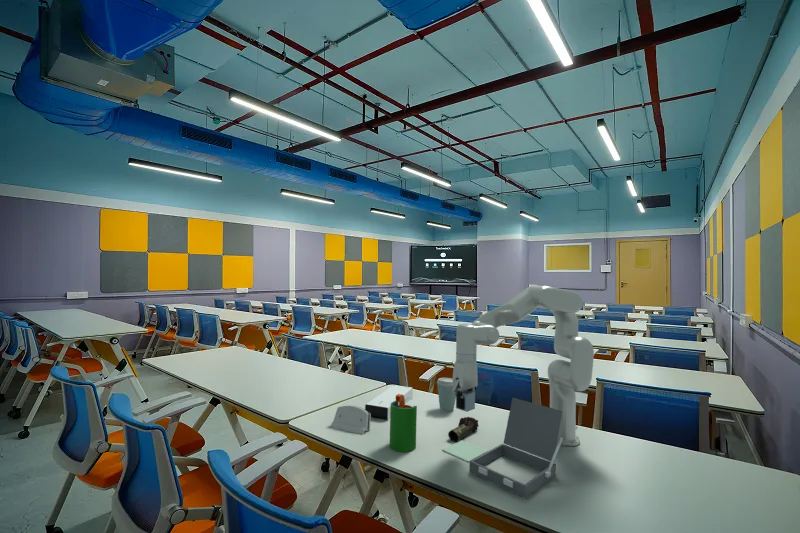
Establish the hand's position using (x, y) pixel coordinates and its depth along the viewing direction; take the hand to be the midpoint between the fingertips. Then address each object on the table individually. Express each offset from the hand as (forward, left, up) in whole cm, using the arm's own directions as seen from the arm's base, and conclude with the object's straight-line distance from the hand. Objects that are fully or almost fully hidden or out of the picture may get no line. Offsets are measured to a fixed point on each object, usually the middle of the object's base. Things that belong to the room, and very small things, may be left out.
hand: (465, 406), depth 139 cm
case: (0, +21, -17) cm, 26 cm away
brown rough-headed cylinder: (-12, -10, -17) cm, 23 cm away
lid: (-12, +20, -5) cm, 24 cm away
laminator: (-10, -53, -17) cm, 57 cm away
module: (0, 0, -1) cm, 1 cm away
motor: (+15, -18, -17) cm, 29 cm away
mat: (0, 0, -17) cm, 17 cm away
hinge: (+19, -45, -17) cm, 51 cm away
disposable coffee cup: (-29, -32, -17) cm, 46 cm away
